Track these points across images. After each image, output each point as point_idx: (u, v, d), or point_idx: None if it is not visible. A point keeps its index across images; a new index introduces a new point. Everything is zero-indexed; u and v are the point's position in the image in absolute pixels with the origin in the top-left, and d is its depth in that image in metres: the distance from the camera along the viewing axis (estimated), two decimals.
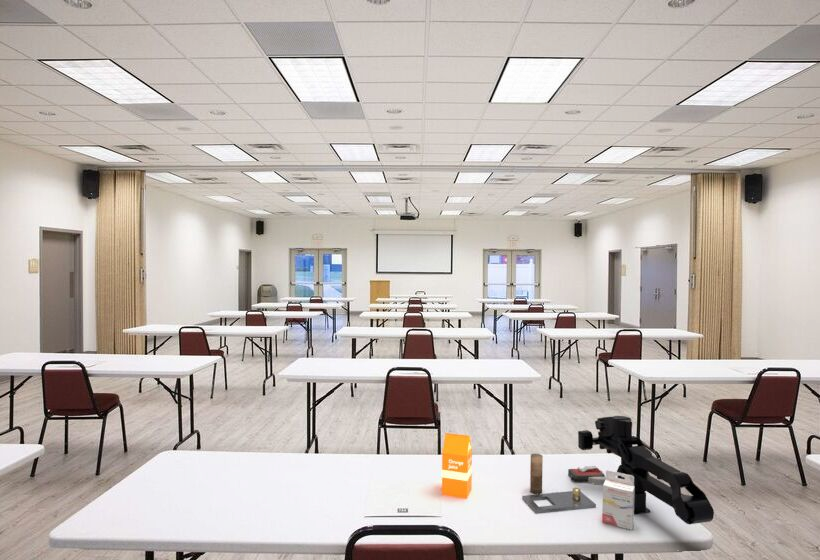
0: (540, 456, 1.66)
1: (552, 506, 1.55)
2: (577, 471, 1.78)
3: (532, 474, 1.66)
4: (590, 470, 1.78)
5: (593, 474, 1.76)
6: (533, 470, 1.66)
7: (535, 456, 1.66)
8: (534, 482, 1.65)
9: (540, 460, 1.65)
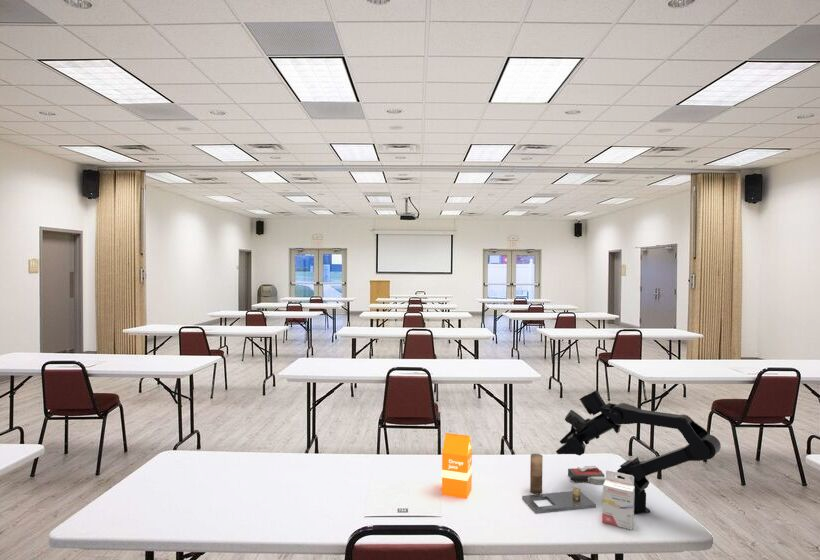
0: (540, 456, 1.66)
1: (552, 506, 1.55)
2: (577, 471, 1.78)
3: (532, 474, 1.66)
4: (590, 470, 1.79)
5: (593, 474, 1.76)
6: (533, 470, 1.66)
7: (535, 456, 1.66)
8: (534, 482, 1.65)
9: (540, 460, 1.65)
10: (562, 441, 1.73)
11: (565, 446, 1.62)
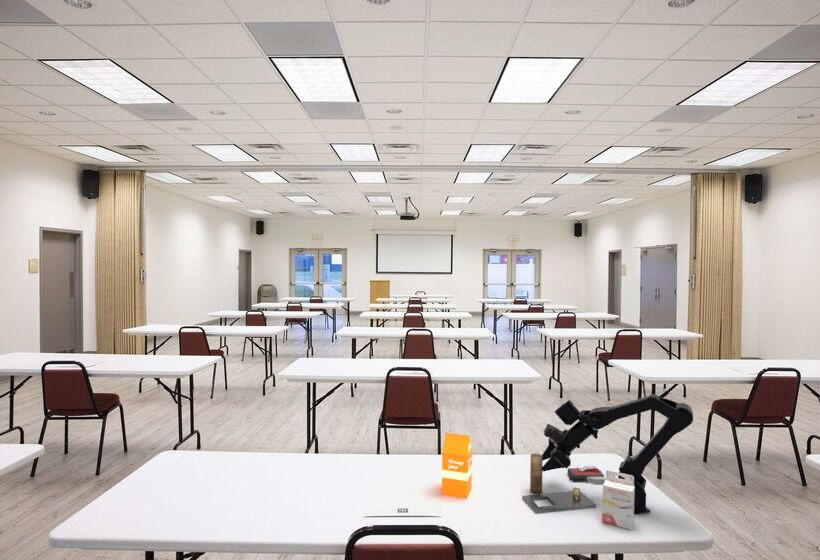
0: (540, 456, 1.66)
1: (552, 506, 1.55)
2: (576, 471, 1.78)
3: (532, 474, 1.66)
4: (589, 470, 1.79)
5: (592, 474, 1.76)
6: (533, 470, 1.66)
7: (535, 456, 1.66)
8: (534, 482, 1.65)
9: (540, 460, 1.65)
10: None
11: (550, 461, 1.60)
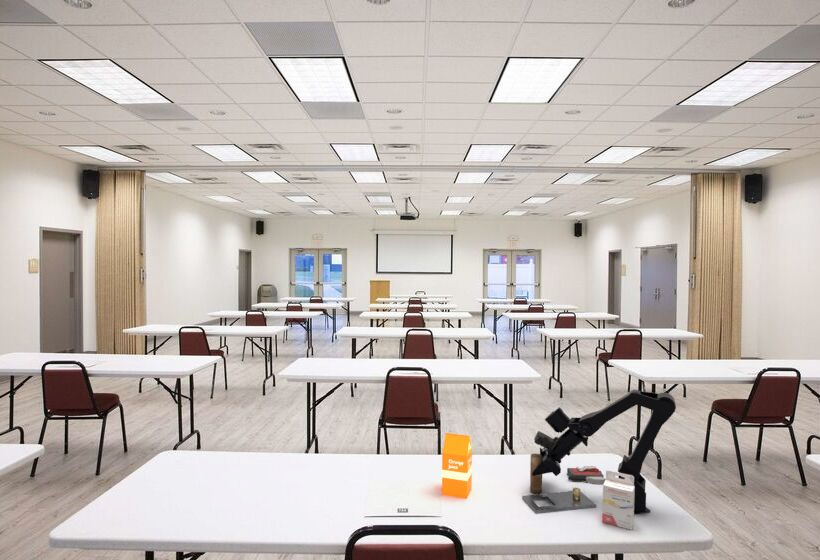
0: (540, 456, 1.66)
1: (552, 506, 1.55)
2: (575, 470, 1.78)
3: None
4: (589, 470, 1.79)
5: (591, 474, 1.76)
6: (533, 470, 1.66)
7: (535, 456, 1.66)
8: (534, 482, 1.65)
9: (540, 460, 1.65)
10: None
11: (540, 466, 1.63)
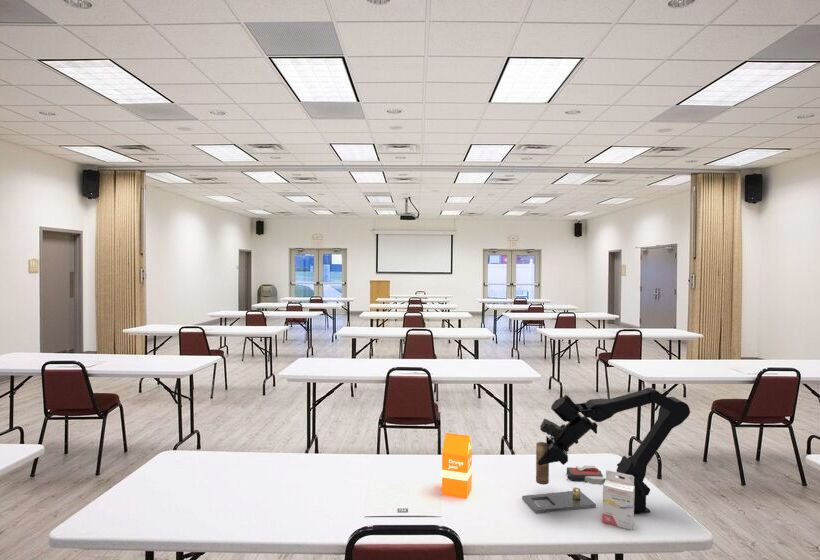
0: (546, 444, 1.58)
1: (552, 506, 1.55)
2: (575, 470, 1.79)
3: None
4: (588, 469, 1.79)
5: (590, 473, 1.76)
6: (539, 459, 1.58)
7: (541, 444, 1.58)
8: (540, 471, 1.57)
9: (546, 449, 1.57)
10: None
11: (546, 455, 1.55)
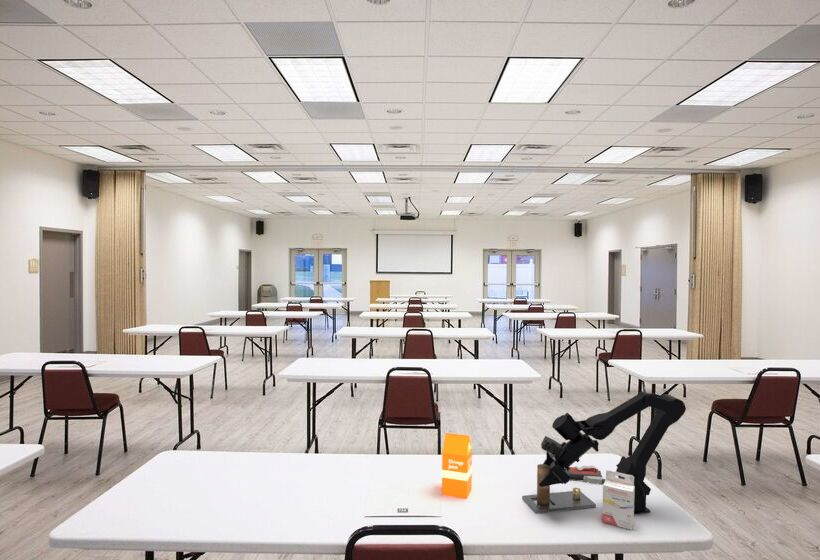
0: (547, 467, 1.57)
1: (552, 506, 1.55)
2: (574, 469, 1.79)
3: (539, 486, 1.57)
4: (588, 469, 1.79)
5: (589, 473, 1.76)
6: None
7: (542, 467, 1.57)
8: (542, 494, 1.56)
9: (547, 471, 1.56)
10: None
11: (548, 477, 1.52)
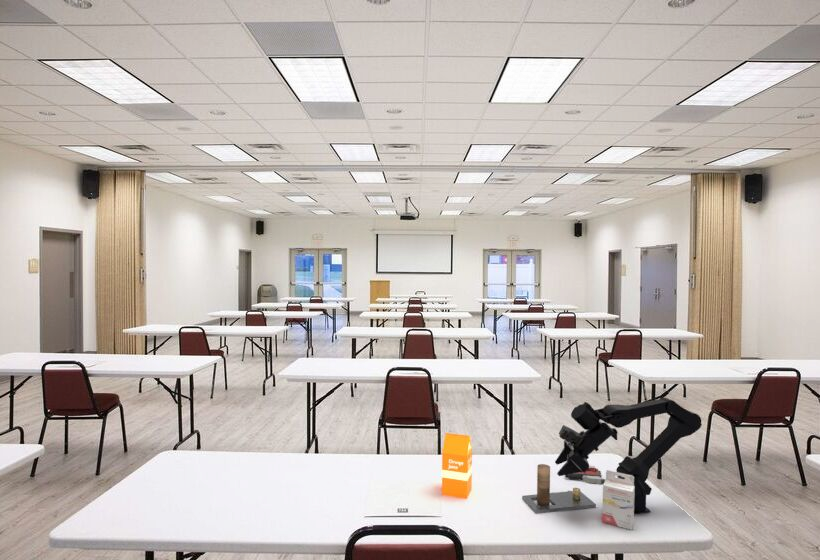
0: (547, 467, 1.57)
1: (552, 506, 1.55)
2: None
3: (539, 486, 1.57)
4: None
5: (589, 473, 1.76)
6: (540, 482, 1.56)
7: (542, 467, 1.57)
8: (542, 494, 1.56)
9: (548, 471, 1.56)
10: (557, 461, 1.61)
11: (567, 465, 1.50)
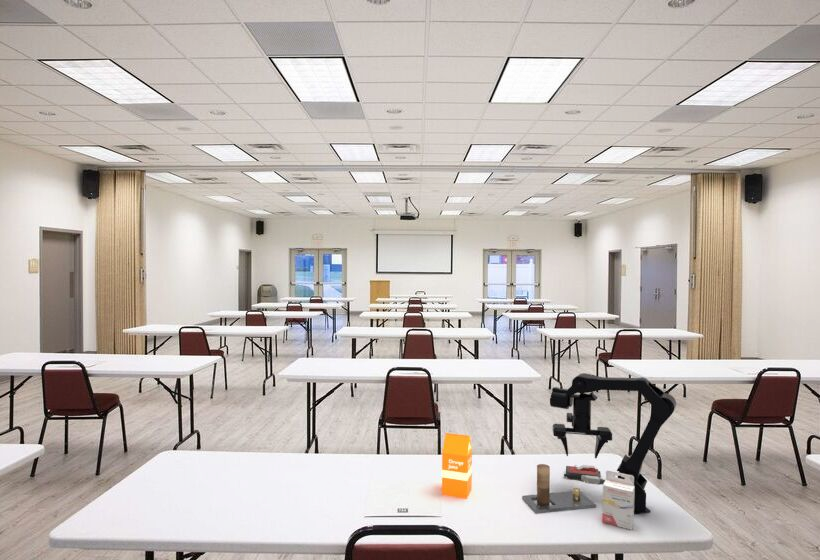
0: (547, 467, 1.57)
1: (552, 506, 1.55)
2: (573, 468, 1.80)
3: (539, 486, 1.57)
4: (587, 469, 1.79)
5: (587, 473, 1.77)
6: (540, 482, 1.56)
7: (542, 467, 1.57)
8: (541, 494, 1.56)
9: (547, 471, 1.56)
10: (595, 455, 1.64)
11: None
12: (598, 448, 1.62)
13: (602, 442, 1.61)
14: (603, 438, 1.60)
